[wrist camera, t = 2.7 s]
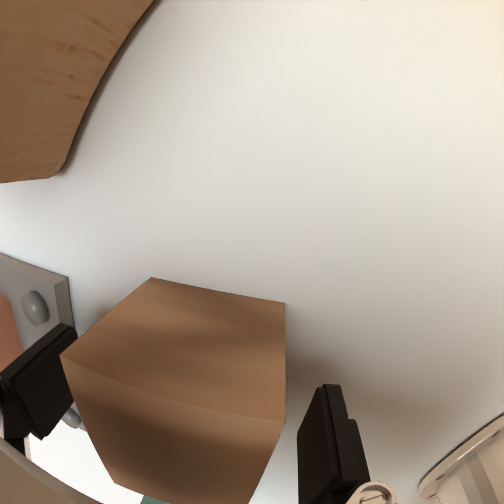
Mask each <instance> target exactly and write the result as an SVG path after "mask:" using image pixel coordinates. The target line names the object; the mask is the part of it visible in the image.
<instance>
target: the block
mask: <svg viewBox="0 0 504 504" xmlns="http://www.w3.org/2000/svg"><path fill="white" fill-rule="evenodd" d="M153 1H154V0H0V183H8V182H16V181H25V180H35V179H46V178H50V177H52V176H54V175H56V174H57V173H58V172H59V170H60V169H61V167H62V166H63V164H64V163H65V161H66V158H67V155H68V152H69V149H70V146H71V144H72V141H73V139H74V136H75V133H76V131H77V129H78V126H79V124H80V121H81V119H82V117H83V115H84V112H85V110H86V108H87V106H88V104H89V102H90V99H91V97H92V95H93V93H94V91H95V89H96V87H97V86H98V84H99V82H100V80H101V78H102V76H103V74H104V73H105V71H106V69H107V67H108V66H109V64H110V62H111V60H112V59H113V57H114V56H115V54H116V52H117V51H118V49H119V48H120V46H121V44H122V43H123V41H124V40H125V38H126V37H127V35H128V34H129V33H130V31H131V30H132V28H133V27H134V25H135V24H136V23H137V21H138V20H139V19H140V17H141V16H142V15H143V13H144V12H145V11H146V9H147V8H148V7H149V6H150V4H151V3H152V2H153Z"/></svg>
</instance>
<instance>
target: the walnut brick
mask: <svg viewBox="0 0 504 504" xmlns="http://www.w3.org/2000/svg"><path fill="white" fill-rule="evenodd" d="M59 356H60V359H61V363H62V366H63V369H64V373H65V376H66V379H67V382H68V385H69V388H70V391H71V393H72V396H73V399H74V402H75V404H76V407H77V409H78V412H79V414H80V417H81V419H82V421H83V424H84V426H85V428H86V430H87V433H88V435H89V437H90V439H91V441H92V443H93V445H94V447H95V449H96V451H97V453H98V455H99V457H100V459H101V461H102V462H103V464H104V466H105V468H106V470H107V471H108V473H109V475H110V476H111V478H112V480H113V481H114V483H116V484H118V485H120V486H123V487H125V488H127V489H130V490H132V491H135V492H137V493H140V494H143V495H146V496H148V497H151V498H154V499H157V500H160V501H163V502H166V503H170V504H248V503H249V501H250V499H251V498H252V496H253V494H254V491H255V489H256V487H257V485H258V483H259V481H260V479H261V477H262V475H263V473H264V471H265V468H266V466H267V464H268V462H269V459H270V457H271V455H272V453H273V450H274V448H275V446H276V443H277V441H278V438H279V436H280V434H281V431H282V429H283V426H284V424H285V405H286V373H285V310H284V303H282V302H276V301H270V300H264V299H259V298H253V297H247V296H242V295H236V294H231V293H226V292H220V291H215V290H210V289H205V288H200V287H195V286H190V285H185V284H180V283H176V282H171V281H166V280H162V279H157V278H153V277H151V278H150V279H148V280H147V281H146V282H145V283H143V284H142V285H141V286H140V287H138V288H137V289H136V290H135V291H133V292H132V293H131V294H130V295H129V296H127V297H126V298H125V299H124V300H123V301H121V302H120V303H119V304H118V305H117V306H115V307H114V308H113V309H112V310H111V311H109V312H108V313H107V314H106V315H105V316H103V317H102V318H101V319H100V320H99V321H98V322H96V323H95V324H94V325H93V326H92V327H91V328H89V329H88V330H87V331H86V332H85V333H84V334H83V335H81V336H80V337H79V338H78V339H77V340H76V341H75V342H73V343H72V344H71V345H70V346H69V347H68V348H67V349H66V350H64V351H63V352H62V353H61V354H60V355H59Z"/></svg>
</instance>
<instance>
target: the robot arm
mask: <svg viewBox="0 0 504 504" xmlns="http://www.w3.org/2000/svg"><path fill="white" fill-rule="evenodd" d="M77 339H78V336H77V333H76V332H75V329H74V327H72V326H70V325H67V324H65V323H63V322H61V323H59V324H58V325H56V326H55V327H54V328H52V329H51V330H50V331H49V332H47V333H46V334H45V335H44V336H43V337H41V338H40V339H39V340H38V341H36V342H35V343H34V344H33V345H32V346H30V347H29V348H28V349H27V350H26V351H24V352H23V353H22V354H21V355H20V356H18V357H17V358H16V359H15V360H14V361H13V362H12V363H10V364H9V365H8V366H7V367H6V368H5V369H4V370H2V371H1V372H0V377H1V379H0V504H103V503H100V502H98V501H96V500H94V499H92V498H90V497H88V496H86V495H85V494H83V493H81V492H79V491H77V490H75V489H74V488H72V487H70V486H68V485H67V484H65V483H63V482H62V481H60V480H58V479H57V478H55V477H54V476H52V475H51V474H49V473H48V472H46V471H45V470H43V469H42V468H40V467H39V466H37V465H36V464H35V463H33V462H32V461H31V454H30V446H29V436H28V435H29V434H30V432H31V433H32V434H33V435H34V436H35V437H37V438H38V439H40V440H41V441H42V439H43V438H44V437H46V436H48V435H49V434H50V433H51V431H52V430H53V429H54V427H55V426H56V425H57V423H58V422H59V421H60V420H61V418H62V417H63V416H64V414H65V413H66V412H67V410H68V409H69V408H70V407H71V405H72V404H73V403H74V399H73V396H72V393H71V391H70V388H69V385H68V382H67V379H66V376H65V373H64V369H63V366H62V363H61V359H60V356H59V355H60V354H61V353H62V352H63V351H64V350H66V349H67V348H68V347H69V346H70V345H71V344H72V343H73V342H75V341H76V340H77ZM297 457H298V496H299V504H397V503H396V494H395V492H394V490H393V489H392V488H391V487H390V486H389V485H387V484H386V483H383V482H379V481H372V482H371V480H370V476H369V471H368V467H367V462H366V458H365V454H364V450H363V446H362V442H361V438H360V434H359V430H358V426H357V423H356V421H355V420H354V419H349V418H348V414H347V410H346V406H345V402H344V398H343V394H342V390H341V387H340V385H334V384H323V386H322V388H320V387H318V388H317V389H316V391H315V394H314V396H313V399H312V401H311V403H310V406H309V408H308V410H307V413H306V415H305V417H304V419H303V421H302V424H301V426H300V428H299V430H298V433H297ZM418 491H419V494H420V497H421V498H422V499H433V498H437V497H438V498H439V501H440V504H504V415H503V416H501V417H500V418H498V419H496V420H495V421H494V422H492V423H491V424H489V425H488V426H487V427H485V428H484V429H483V430H481V431H480V432H479V433H477V434H476V435H475V436H473V437H472V438H471V439H469V440H468V441H467V442H465V443H464V444H463V445H462V446H460V447H459V448H458V449H457V450H455V451H454V452H453V453H452V454H450V455H449V456H448V457H447V458H445V459H444V460H443V461H442V462H441V463H439V464H438V465H437V466H436V467H435V468H434V469H433V470H432V471H431V472H430V473H429V474H428V475H427V476H426V477H425V478H424V479H423V481H422V482H421V483H420V485H419V488H418Z"/></svg>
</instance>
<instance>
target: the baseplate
mask: <svg viewBox="0 0 504 504" xmlns="http://www.w3.org/2000/svg"><path fill="white" fill-rule="evenodd" d="M61 322H63V323H65V324H67V325H70V326H72V327H74V324H73V318H72V311H71V304H70V297H69V289H68V279H67V277H64V276H61V275H58V274H55V273H52V272H49V271H46V270H44V269H41V268H38V267H35V266H32V265H30V264H27V263H24V262H22V261H19V260H16V259H14V258H11V257H9V256H6V255H4V254H1V253H0V372H1V371H2V370H4V369H5V368H6V367H7V366H8V365H9V364H10V363H12V362H13V361H14V360H15V359H16V358H17V357H18V356H20V355H21V354H22V353H23V352H24V351H26V350H27V349H28V348H29V347H30V346H32V345H33V344H34V343H35V342H36V341H38V340H39V339H40V338H41V337H43V336H44V335H45V334H46V333H47V332H49V331H50V330H51V329H52V328H54V327H55V326H56V325H58V324H59V323H61ZM0 379H1V377H0ZM61 419H62V420H63V421H64V422H65V423H66V424H67V425H69V426H70V427H72V428H75V429H76V428H80V429H82V430H84V431H86V432H87V430H86V428H85V426H84V424H83V421H82V419H81V417H80V414H79V412H78V409H77V407H76V404H75V402H74V403H73V404H72V405H71V407H70V408H69V409H68V410H67V412H66V413H65V414H64V416H63V417H62V418H61Z"/></svg>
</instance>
